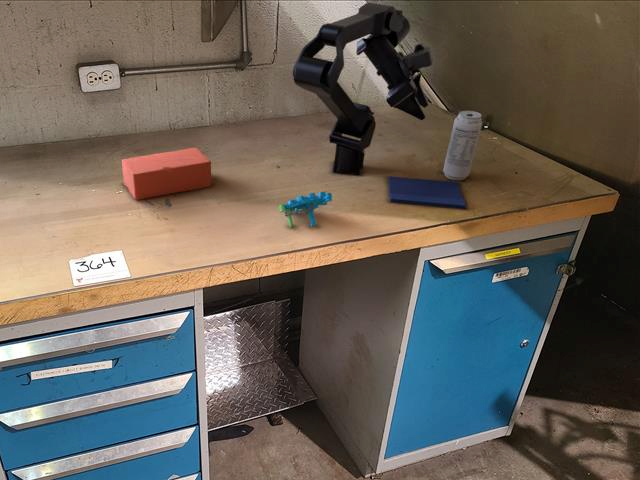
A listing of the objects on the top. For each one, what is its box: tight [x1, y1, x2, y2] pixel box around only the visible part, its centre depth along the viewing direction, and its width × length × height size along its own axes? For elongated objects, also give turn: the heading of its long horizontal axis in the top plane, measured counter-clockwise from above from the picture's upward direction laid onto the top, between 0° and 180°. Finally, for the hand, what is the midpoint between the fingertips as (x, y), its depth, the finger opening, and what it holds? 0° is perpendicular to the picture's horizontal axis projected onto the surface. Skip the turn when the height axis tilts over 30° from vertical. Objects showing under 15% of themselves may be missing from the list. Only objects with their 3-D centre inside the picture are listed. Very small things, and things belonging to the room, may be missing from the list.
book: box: [388, 175, 467, 210], centre depth 136 cm, size 16×13×1 cm
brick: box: [121, 147, 212, 201], centre depth 135 cm, size 18×9×6 cm, turn 116°
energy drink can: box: [442, 110, 483, 181], centre depth 140 cm, size 6×6×15 cm
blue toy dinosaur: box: [279, 191, 333, 228], centre depth 122 cm, size 11×6×10 cm
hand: (425, 112), depth 140 cm, fingers open, 9 cm apart
